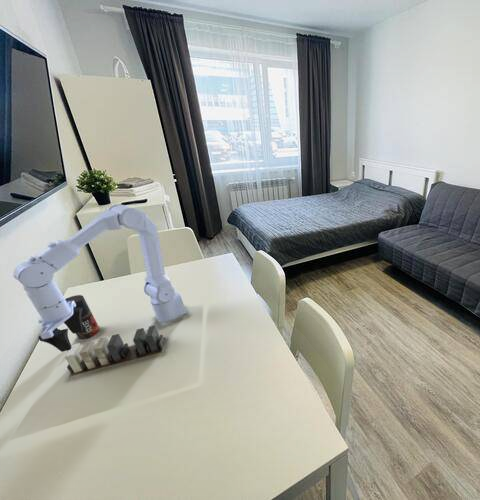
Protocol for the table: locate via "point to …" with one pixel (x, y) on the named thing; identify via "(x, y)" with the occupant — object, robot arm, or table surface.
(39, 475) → the table surface
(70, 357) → the cream book
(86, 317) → the deodorant
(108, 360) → the book rack
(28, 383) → the table surface
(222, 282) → the table surface
